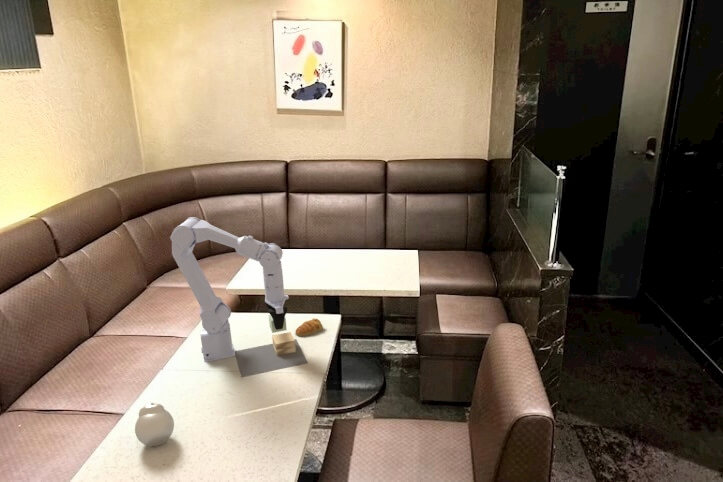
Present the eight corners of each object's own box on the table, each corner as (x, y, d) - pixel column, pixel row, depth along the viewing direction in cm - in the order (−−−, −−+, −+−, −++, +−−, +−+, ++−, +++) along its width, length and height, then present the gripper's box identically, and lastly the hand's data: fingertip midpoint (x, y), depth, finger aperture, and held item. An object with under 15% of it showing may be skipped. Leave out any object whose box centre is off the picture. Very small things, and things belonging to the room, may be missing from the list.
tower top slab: (276, 349, 167) (275, 344, 166) (272, 341, 172) (272, 335, 172) (295, 346, 169) (294, 340, 168) (291, 337, 174) (290, 332, 173)
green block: (272, 332, 164) (271, 321, 163) (269, 326, 168) (268, 315, 167) (286, 330, 165) (285, 318, 164) (283, 324, 169) (282, 312, 168)
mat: (241, 378, 157) (241, 377, 157) (234, 352, 171) (234, 351, 171) (308, 364, 163) (308, 363, 163) (296, 340, 177) (296, 339, 177)
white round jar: (179, 426, 137) (174, 392, 134) (172, 451, 128) (166, 416, 125) (142, 430, 136) (136, 396, 132) (133, 456, 127) (125, 420, 124)
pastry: (303, 341, 177) (302, 330, 176) (291, 334, 182) (290, 324, 181) (325, 331, 183) (324, 321, 182) (313, 324, 188) (312, 315, 187)
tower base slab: (276, 355, 167) (276, 349, 167) (273, 346, 173) (272, 341, 172) (295, 351, 169) (295, 346, 169) (291, 343, 175) (291, 337, 174)
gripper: (291, 291, 156) (295, 333, 161) (282, 274, 170) (285, 313, 174) (267, 295, 154) (271, 337, 159) (260, 277, 167) (264, 317, 172)
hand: (277, 325), depth 166 cm, fingers closed on green block, 4 cm apart
